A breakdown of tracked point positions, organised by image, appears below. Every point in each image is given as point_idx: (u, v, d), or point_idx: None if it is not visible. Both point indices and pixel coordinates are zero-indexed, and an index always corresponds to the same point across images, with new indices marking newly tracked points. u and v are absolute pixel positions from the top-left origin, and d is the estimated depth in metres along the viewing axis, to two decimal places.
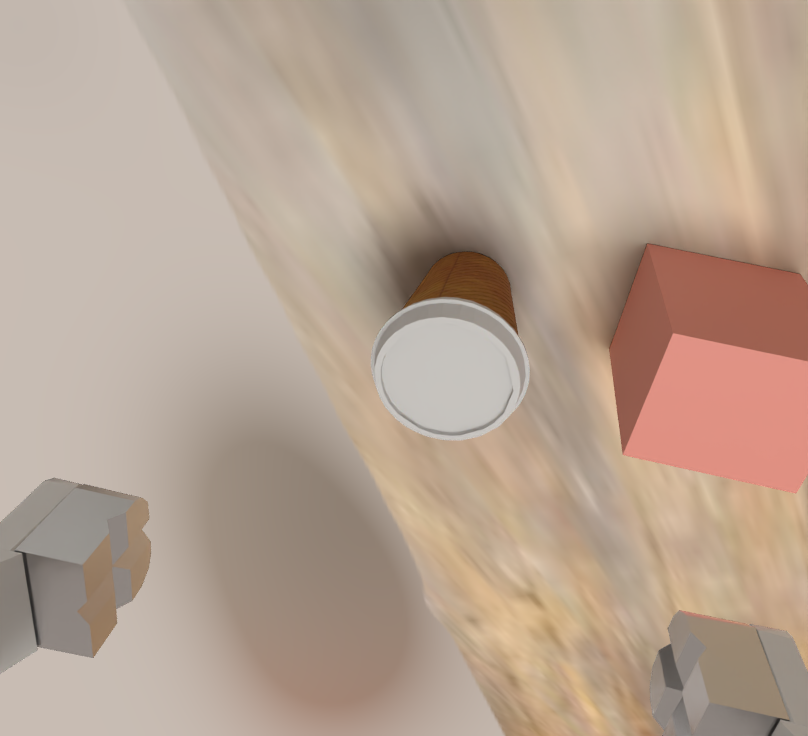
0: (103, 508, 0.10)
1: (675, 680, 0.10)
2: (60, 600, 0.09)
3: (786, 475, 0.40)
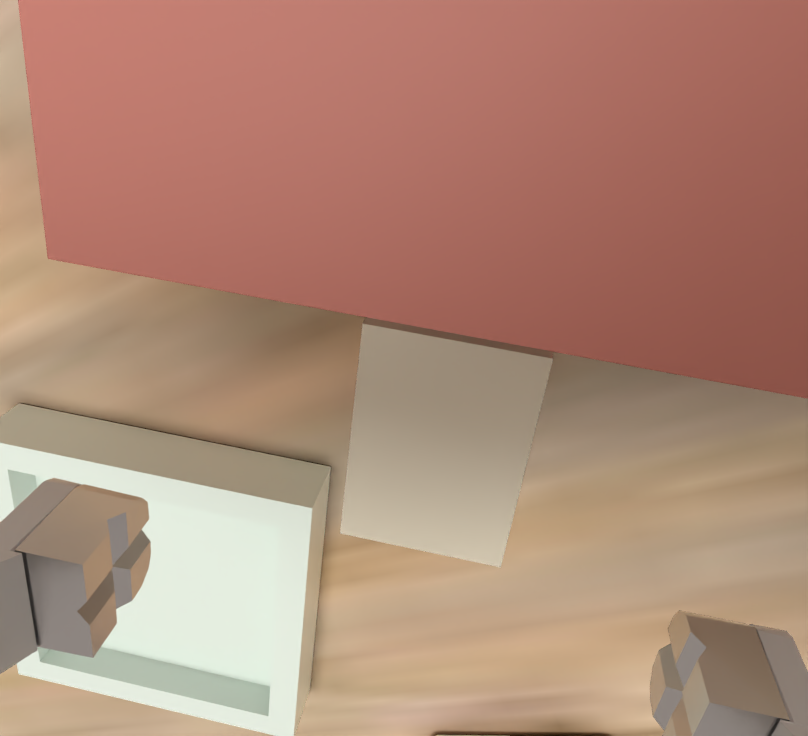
0: (103, 508, 0.10)
1: (675, 680, 0.10)
2: (60, 600, 0.09)
3: (142, 177, 0.07)
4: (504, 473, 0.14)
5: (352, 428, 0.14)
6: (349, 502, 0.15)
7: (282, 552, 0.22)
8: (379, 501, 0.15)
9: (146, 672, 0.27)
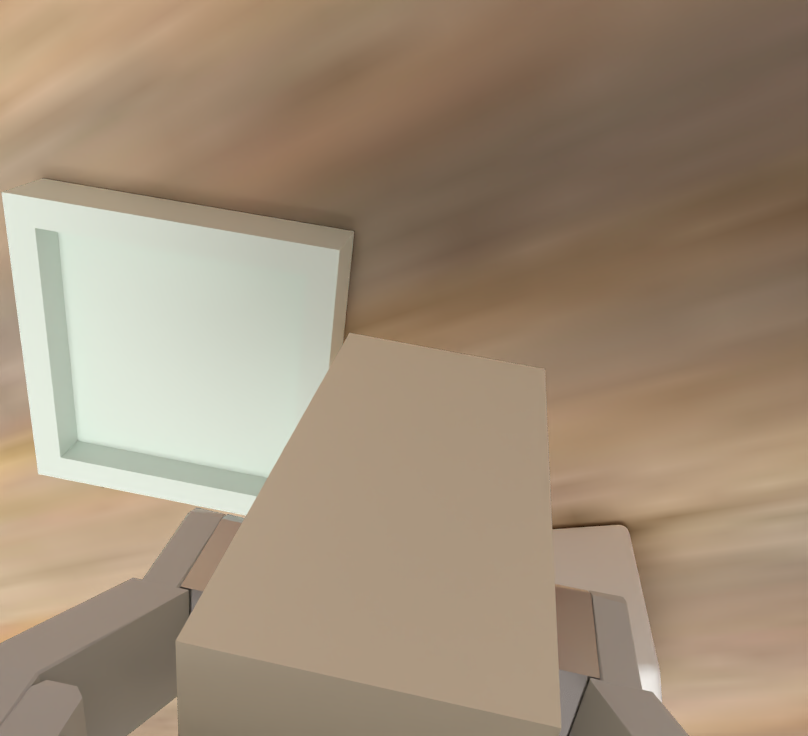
0: None
1: None
2: None
3: None
4: None
5: None
6: None
7: (308, 305, 0.23)
8: None
9: (166, 468, 0.27)
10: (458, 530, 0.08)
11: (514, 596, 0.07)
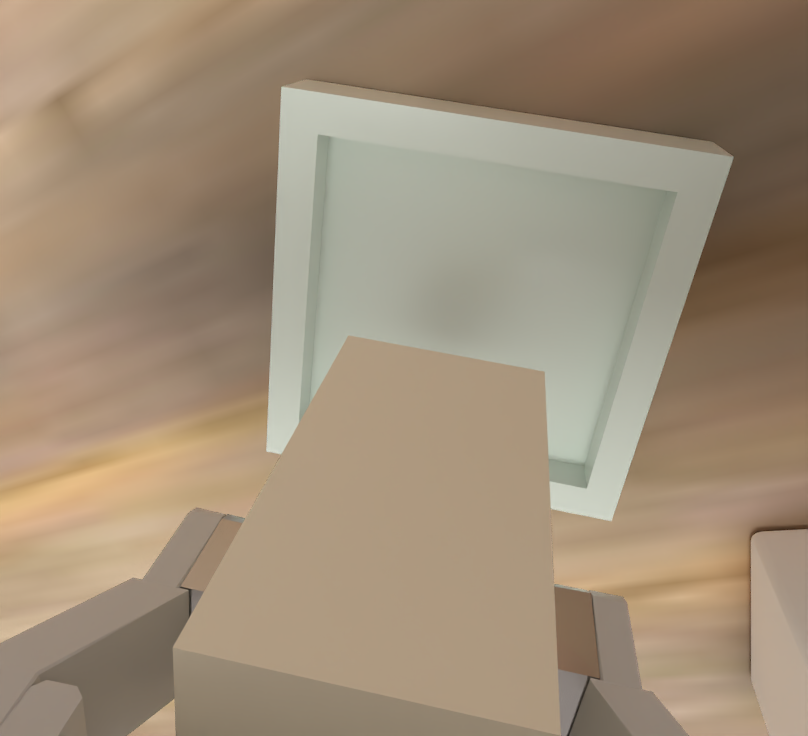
0: None
1: None
2: None
3: None
4: None
5: None
6: None
7: (671, 233, 0.18)
8: None
9: None
10: (458, 535, 0.08)
11: (513, 600, 0.07)
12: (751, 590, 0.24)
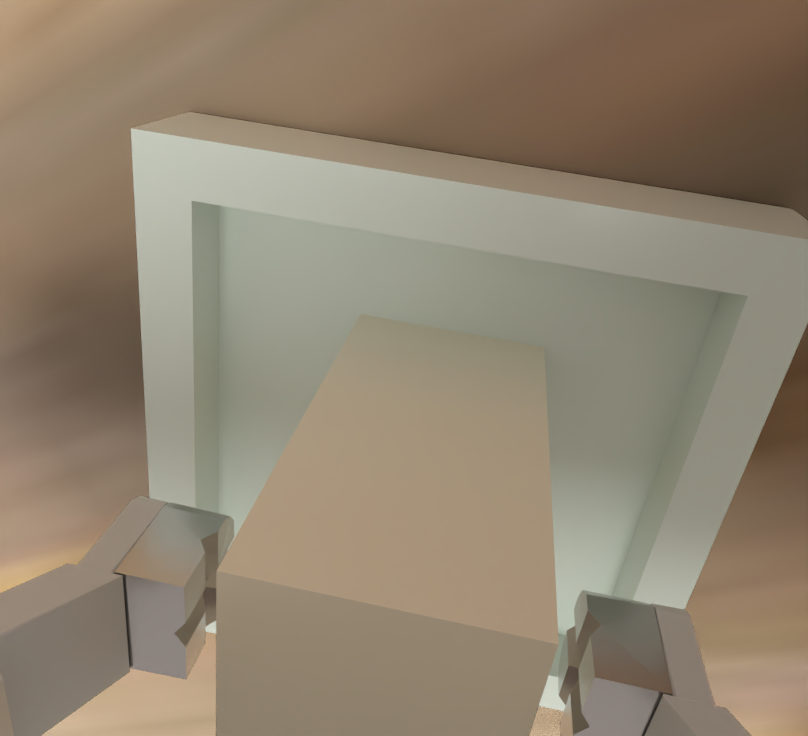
0: (195, 528, 0.10)
1: (576, 659, 0.10)
2: (157, 622, 0.09)
3: None
4: None
5: (218, 716, 0.08)
6: None
7: (736, 354, 0.11)
8: None
9: None
10: (466, 484, 0.09)
11: (517, 538, 0.08)
12: None
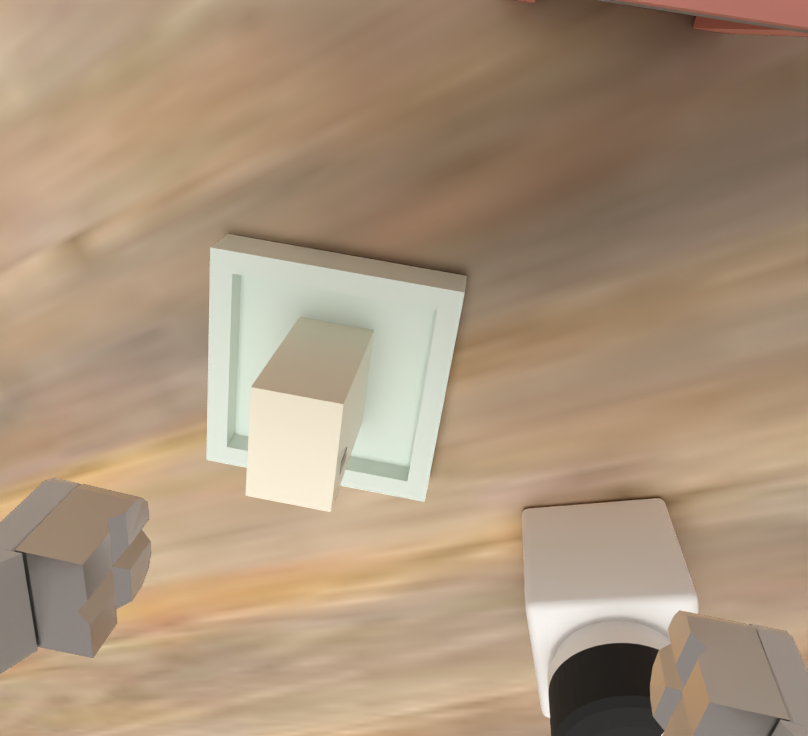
0: (103, 508, 0.10)
1: (675, 680, 0.10)
2: (60, 600, 0.09)
3: None
4: (327, 461, 0.27)
5: (249, 439, 0.27)
6: (249, 478, 0.28)
7: (437, 332, 0.30)
8: (265, 477, 0.28)
9: None
10: (327, 371, 0.28)
11: (339, 384, 0.27)
12: None
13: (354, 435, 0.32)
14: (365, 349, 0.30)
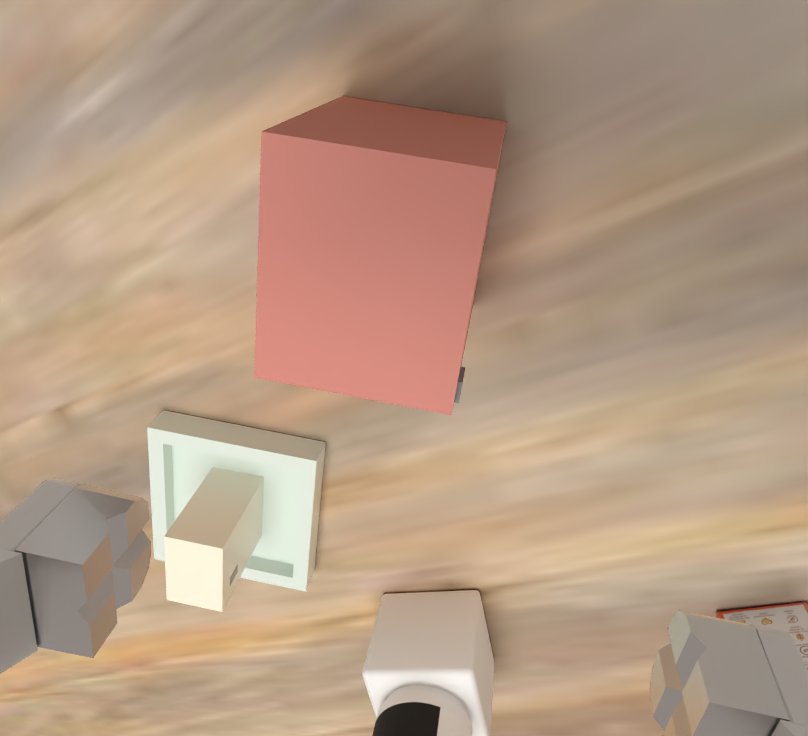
0: (103, 508, 0.10)
1: (675, 680, 0.10)
2: (60, 600, 0.09)
3: (280, 360, 0.29)
4: (216, 581, 0.41)
5: (165, 566, 0.41)
6: (168, 589, 0.42)
7: (301, 484, 0.44)
8: (178, 589, 0.42)
9: None
10: (219, 519, 0.42)
11: (225, 530, 0.41)
12: None
13: (249, 550, 0.46)
14: (252, 496, 0.44)
